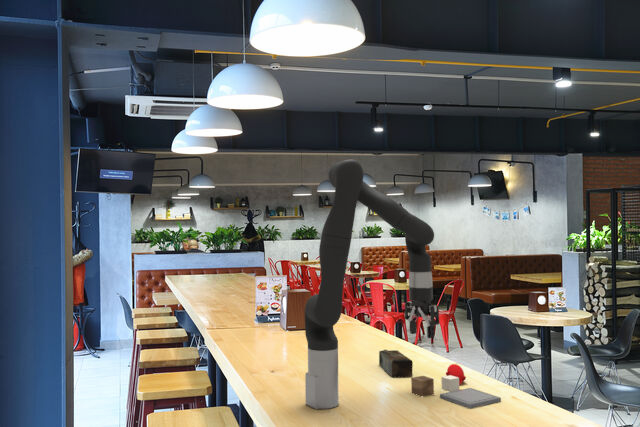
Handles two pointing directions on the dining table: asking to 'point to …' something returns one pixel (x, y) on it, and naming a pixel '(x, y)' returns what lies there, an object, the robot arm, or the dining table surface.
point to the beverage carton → (395, 363)
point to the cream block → (450, 383)
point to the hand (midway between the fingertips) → (421, 335)
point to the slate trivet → (470, 397)
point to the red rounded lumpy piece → (456, 372)
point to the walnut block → (422, 385)
